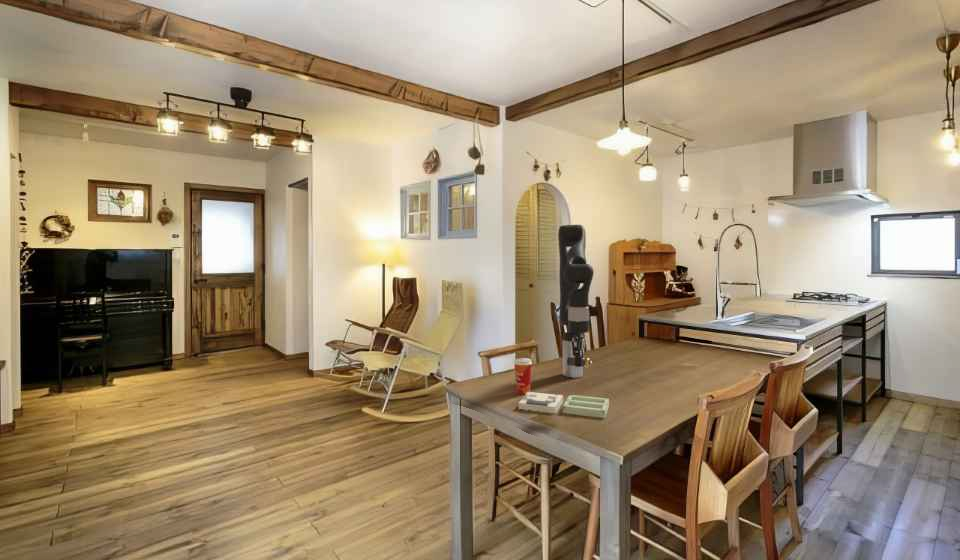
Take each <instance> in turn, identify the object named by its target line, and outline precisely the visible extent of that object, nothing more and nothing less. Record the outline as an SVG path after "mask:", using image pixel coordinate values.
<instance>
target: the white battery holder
mask: <svg viewBox="0 0 960 560" xmlns="http://www.w3.org/2000/svg"><path fill="white" fill-rule="evenodd" d="M563 402H564V395H563V394H554V393H553V394H551V393H542V392H533V391H530V392H527V393H526V394H525V395H524V396H523V397H522V398H521V400H520V401H519V402H518V410H520V409H523V410H522V411H528V410H531V411H530V412H537V411H539V412H538V413H546V412H547V414H554V413H555V414H556V413H557V412H558V410H559V409H560V407H561V406H562V404H563Z"/></svg>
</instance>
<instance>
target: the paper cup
mask: <svg viewBox="0 0 960 560" xmlns="http://www.w3.org/2000/svg"><path fill="white" fill-rule="evenodd" d="M513 364H514V376H515V389H516V394H518V393H519V395H522V394H526V393H527V392H531V382H532V381H531V379H532V378H531V377H532V376H531V375H532V364H533V361H532V360H531V359H530V358H526V357H518V358H515V359H514V362H513Z"/></svg>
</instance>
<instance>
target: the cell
mask: <svg viewBox="0 0 960 560" xmlns="http://www.w3.org/2000/svg"><path fill="white" fill-rule="evenodd" d="M567 365H568V366H575V357H568V358H567ZM591 365H593V361H591V358H588V357H583V358H581V367H583V368H591Z"/></svg>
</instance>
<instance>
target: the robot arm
mask: <svg viewBox="0 0 960 560" xmlns="http://www.w3.org/2000/svg"><path fill="white" fill-rule="evenodd" d="M557 236H558V237H557V238H558V251H559V295H560V296H559V312H558V314H559V316H558V317H559V322H560V323H559V324H561V325H563V326H568V329H567V330H568V331H566V332H563V334H562V376H563V375H564V376H563V377H565V376H566V377H565V378H569V377H571V379H572V378H573V379H578V377H579V378H582V377H583V374H584V372H583V370H584V367H581V358H584V353H585V351H586V347H585V346H586V335H584V334H586V333H589V332H590V310H589V309H590V307H589V295H590V294H589V293H590V290H591V289H590V288H591V284H592V281H593V278H594V272H595V271H594V268H593V266H592V265H591V264H588V263H587V258H586V243H587V242H586V237H587V236H586V229H585V227H584V225H582V224H564V225H560V226H559V228H558V233H557ZM567 248H569V249H567ZM581 284H582V286H581ZM580 286H581V287H580ZM568 357H575V366H568V365H567V358H568Z"/></svg>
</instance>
